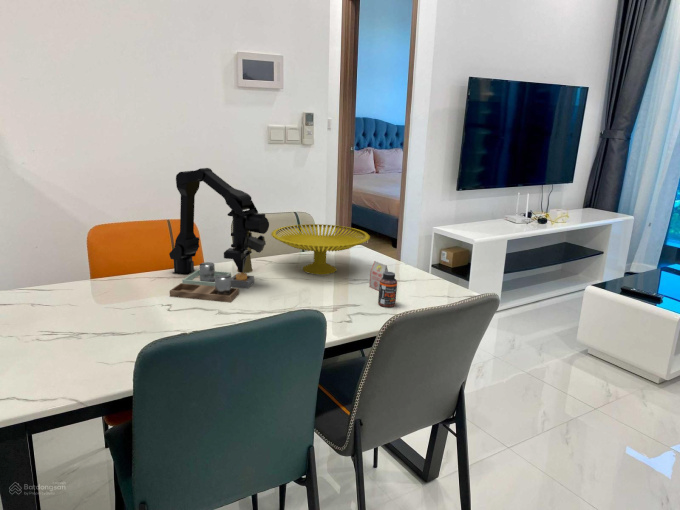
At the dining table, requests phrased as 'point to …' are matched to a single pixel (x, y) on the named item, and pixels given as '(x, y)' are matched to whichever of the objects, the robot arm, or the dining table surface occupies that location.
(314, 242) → the yellow pedestal fruit bowl
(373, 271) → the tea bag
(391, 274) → the supplement bottle
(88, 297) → the dining table surface
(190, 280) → the sage tote
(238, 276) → the button
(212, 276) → the cylinder
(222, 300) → the walnut pallet
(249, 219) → the robot arm
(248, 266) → the cork
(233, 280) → the button housing
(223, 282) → the seated steel billet
